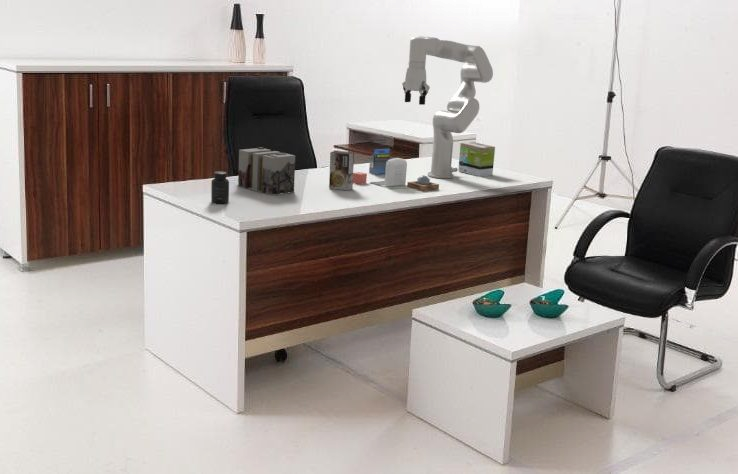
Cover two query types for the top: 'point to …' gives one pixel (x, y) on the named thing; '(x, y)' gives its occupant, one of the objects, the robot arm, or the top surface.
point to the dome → (423, 180)
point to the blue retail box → (379, 161)
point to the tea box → (476, 159)
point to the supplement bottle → (220, 188)
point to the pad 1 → (378, 183)
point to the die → (359, 178)
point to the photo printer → (395, 172)
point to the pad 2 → (393, 186)
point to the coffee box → (341, 170)
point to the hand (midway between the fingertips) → (414, 103)
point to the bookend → (266, 170)
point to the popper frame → (423, 186)
